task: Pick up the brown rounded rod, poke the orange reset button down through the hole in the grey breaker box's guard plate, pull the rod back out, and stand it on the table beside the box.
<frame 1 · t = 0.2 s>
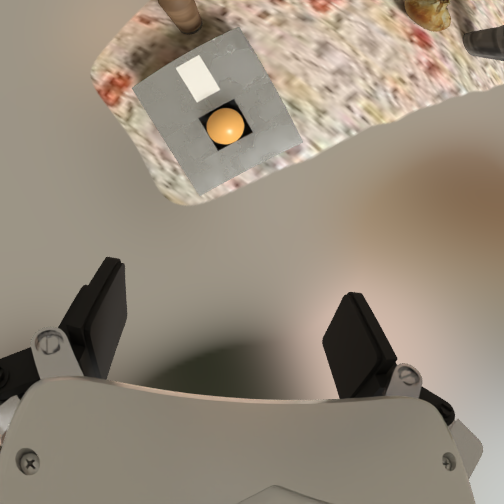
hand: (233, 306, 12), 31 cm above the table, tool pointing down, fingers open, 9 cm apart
reset button: (225, 125, 30), point 6 cm above the table, slide at 0.0 cm
breaker box: (219, 109, 35), on the table
beverage cup: (470, 44, 28), on the table
brown rounded rod: (190, 24, 28), on the table
onion: (415, 13, 27), on the table
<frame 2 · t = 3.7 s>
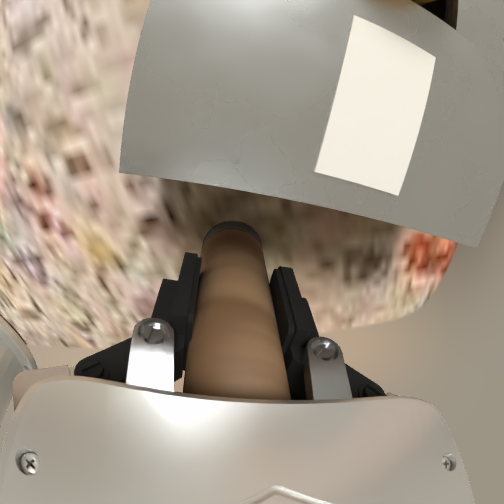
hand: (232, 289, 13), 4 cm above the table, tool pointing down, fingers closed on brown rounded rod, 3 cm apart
breaker box: (340, 23, 10), on the table
brown rounded rod: (232, 248, 16), on the table, touching gripper
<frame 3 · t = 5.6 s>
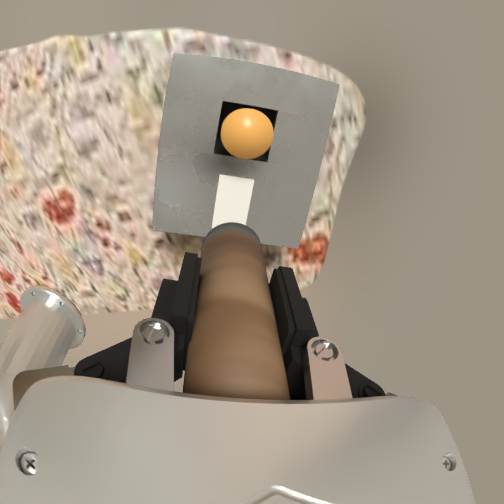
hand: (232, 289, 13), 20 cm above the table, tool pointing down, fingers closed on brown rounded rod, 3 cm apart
reset button: (245, 131, 22), point 6 cm above the table, slide at 0.0 cm
breaker box: (238, 145, 28), on the table
brown rounded rod: (231, 249, 16), point 16 cm above the table, touching gripper
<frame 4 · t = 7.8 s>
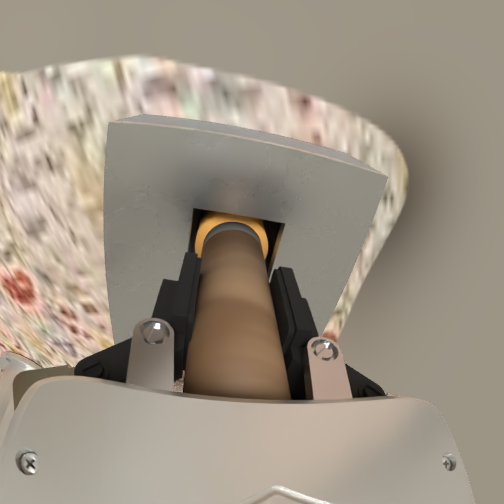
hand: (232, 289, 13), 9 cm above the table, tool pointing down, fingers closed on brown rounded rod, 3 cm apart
reset button: (231, 232, 18), point 3 cm above the table, slide at 2.8 cm, touching brown rounded rod
breaker box: (226, 237, 21), on the table
brown rounded rod: (232, 248, 16), point 5 cm above the table, touching gripper, reset button
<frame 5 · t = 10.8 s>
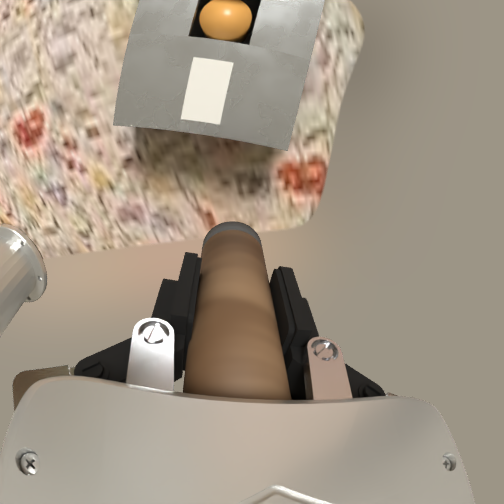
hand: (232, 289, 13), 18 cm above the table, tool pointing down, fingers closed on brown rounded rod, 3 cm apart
reset button: (225, 23, 18), point 3 cm above the table, slide at 2.8 cm
breaker box: (221, 49, 22), on the table
brown rounded rod: (232, 248, 16), point 14 cm above the table, touching gripper
when the fingers open (5 cm above the table, at t = 13.3 s): brown rounded rod stays where it is, on the table.
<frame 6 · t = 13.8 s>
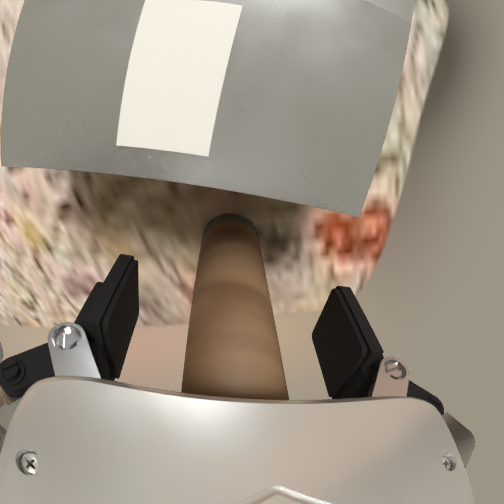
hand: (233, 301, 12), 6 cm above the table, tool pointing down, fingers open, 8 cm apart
breaker box: (217, 5, 10), on the table
brown rounded rod: (230, 239, 17), on the table
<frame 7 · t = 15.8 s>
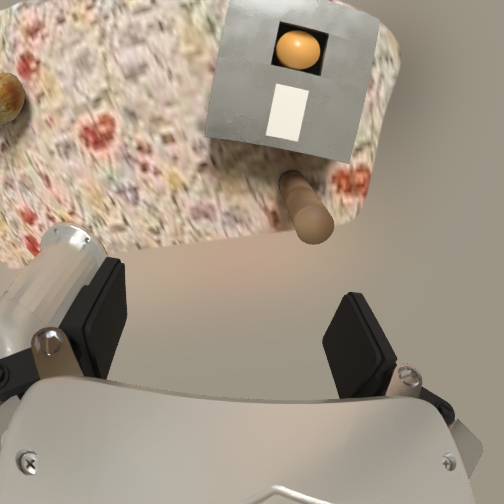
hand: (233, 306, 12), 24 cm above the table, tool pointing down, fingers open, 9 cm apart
reset button: (295, 52, 23), point 3 cm above the table, slide at 2.8 cm
breaker box: (286, 72, 27), on the table
brown rounded rod: (291, 183, 33), on the table
onion: (17, 97, 24), on the table
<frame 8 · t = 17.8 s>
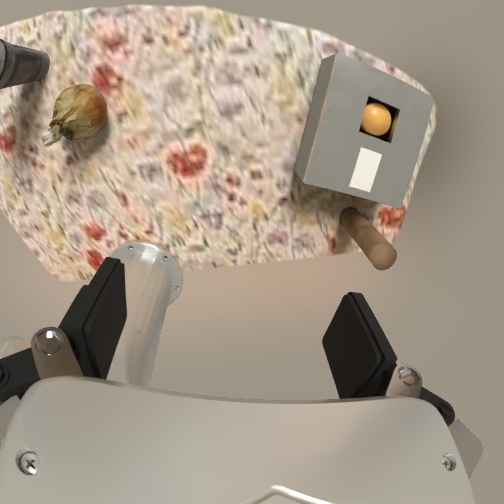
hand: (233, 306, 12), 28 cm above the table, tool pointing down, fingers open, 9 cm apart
reset button: (370, 117, 31), point 3 cm above the table, slide at 2.8 cm
breaker box: (356, 129, 35), on the table
beverage cup: (39, 66, 26), on the table
brown rounded rod: (349, 217, 41), on the table
onion: (90, 111, 31), on the table
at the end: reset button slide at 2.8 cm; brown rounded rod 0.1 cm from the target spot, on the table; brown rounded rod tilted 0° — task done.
